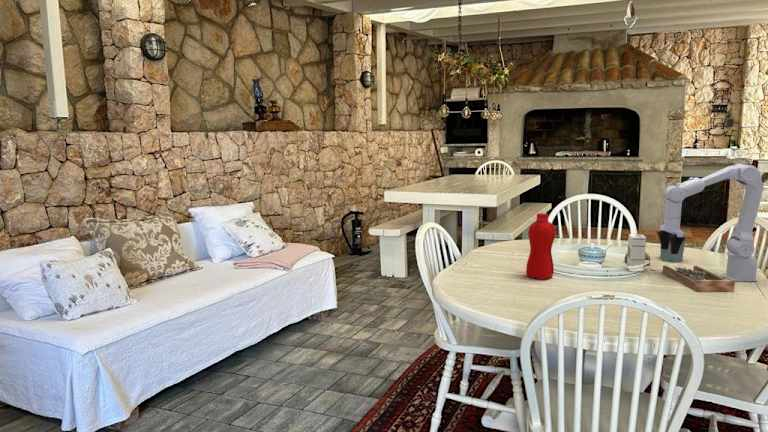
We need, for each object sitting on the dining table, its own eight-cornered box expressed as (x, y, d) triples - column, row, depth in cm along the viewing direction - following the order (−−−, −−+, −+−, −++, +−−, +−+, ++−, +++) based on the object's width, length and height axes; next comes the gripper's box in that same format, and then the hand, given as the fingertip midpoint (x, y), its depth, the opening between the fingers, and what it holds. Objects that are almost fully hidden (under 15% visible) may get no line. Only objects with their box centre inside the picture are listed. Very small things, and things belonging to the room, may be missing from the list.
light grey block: (623, 271, 242) (625, 257, 237) (624, 257, 250) (625, 242, 245) (649, 274, 238) (651, 259, 234) (649, 259, 246) (650, 244, 241)
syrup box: (644, 272, 227) (647, 236, 225) (628, 271, 228) (631, 236, 226) (640, 268, 233) (643, 234, 230) (625, 267, 234) (628, 233, 231)
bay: (696, 272, 226) (696, 263, 226) (733, 291, 202) (735, 281, 201) (662, 272, 226) (663, 263, 226) (696, 291, 202) (697, 280, 201)
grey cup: (685, 259, 249) (687, 232, 247) (682, 264, 240) (685, 236, 238) (659, 256, 254) (662, 230, 252) (656, 261, 246) (659, 233, 243)
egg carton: (707, 283, 213) (708, 272, 213) (687, 283, 213) (689, 272, 212) (691, 275, 224) (692, 265, 223) (672, 275, 224) (673, 265, 223)
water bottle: (558, 275, 222) (561, 212, 218) (544, 281, 214) (548, 216, 210) (536, 271, 228) (539, 210, 224) (522, 276, 220) (525, 213, 216)
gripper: (653, 214, 225) (650, 247, 228) (671, 220, 211) (668, 256, 213) (670, 214, 225) (668, 247, 228) (690, 220, 211) (687, 255, 213)
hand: (669, 251), depth 220 cm, fingers open, 7 cm apart
